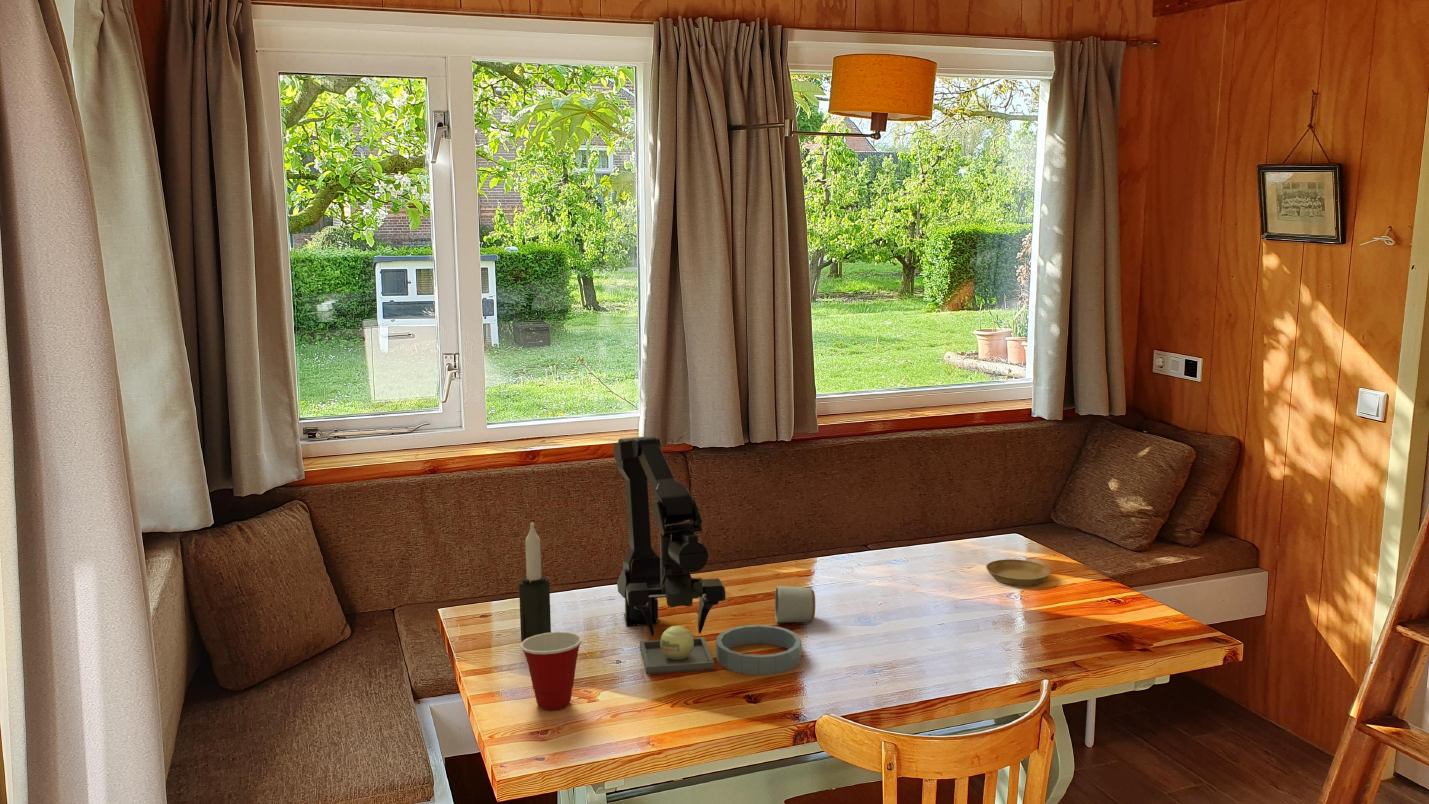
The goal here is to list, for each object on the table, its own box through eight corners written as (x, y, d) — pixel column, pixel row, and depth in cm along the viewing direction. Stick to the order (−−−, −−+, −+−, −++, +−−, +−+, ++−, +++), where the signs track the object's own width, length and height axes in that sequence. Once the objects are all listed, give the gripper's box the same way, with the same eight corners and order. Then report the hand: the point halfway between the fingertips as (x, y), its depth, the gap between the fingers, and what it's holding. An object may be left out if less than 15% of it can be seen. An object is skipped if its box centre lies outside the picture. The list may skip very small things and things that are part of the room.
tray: (646, 674, 207) (646, 667, 206) (639, 648, 219) (639, 641, 219) (714, 669, 209) (714, 662, 208) (704, 644, 221) (704, 637, 221)
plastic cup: (562, 685, 202) (560, 623, 200) (595, 704, 194) (594, 640, 192) (510, 702, 195) (508, 638, 193) (543, 723, 187) (541, 656, 185)
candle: (553, 638, 225) (549, 520, 221) (541, 647, 220) (537, 526, 216) (531, 635, 227) (526, 518, 223) (519, 644, 222) (514, 524, 218)
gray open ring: (724, 677, 205) (724, 659, 205) (710, 644, 221) (710, 627, 221) (809, 671, 208) (809, 653, 207) (790, 638, 224) (790, 622, 223)
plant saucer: (1060, 578, 261) (1061, 567, 261) (1033, 594, 250) (1033, 583, 250) (1003, 565, 271) (1003, 555, 270) (974, 580, 260) (975, 569, 259)
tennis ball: (654, 625, 212) (683, 631, 209) (673, 619, 218) (702, 625, 214) (652, 658, 213) (681, 665, 209) (671, 651, 218) (699, 658, 215)
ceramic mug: (816, 626, 230) (816, 591, 229) (777, 627, 230) (777, 592, 229) (809, 609, 241) (809, 576, 240) (772, 610, 240) (772, 577, 239)
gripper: (629, 572, 201) (631, 653, 204) (730, 567, 204) (730, 646, 207) (625, 554, 212) (626, 631, 215) (720, 549, 215) (720, 625, 218)
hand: (676, 634), depth 213 cm, fingers open, 9 cm apart
